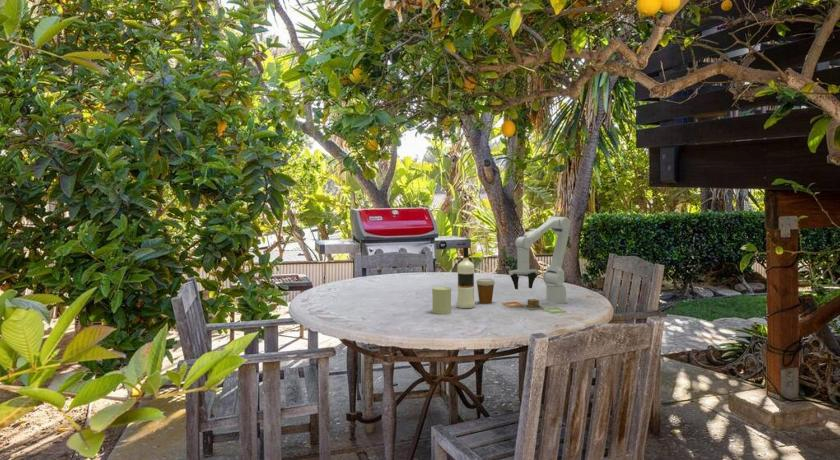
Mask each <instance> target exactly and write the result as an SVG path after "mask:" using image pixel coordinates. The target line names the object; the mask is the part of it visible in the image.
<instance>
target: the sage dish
mask: <svg viewBox="0 0 840 460" xmlns="http://www.w3.org/2000/svg"><path fill="white" fill-rule="evenodd" d="M542 311H544V312H546V313H549V314H553V315H554V314H562V313H563V314H564V313H567V309H563V308H561V307H558V306H555V307H545V308H543V309H542Z"/></svg>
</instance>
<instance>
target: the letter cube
mask: <svg viewBox="0 0 840 460" xmlns="http://www.w3.org/2000/svg"><path fill="white" fill-rule="evenodd" d="M527 305H528V307H529V308H539V305H540V300H539V299H536V298H529V299H527Z"/></svg>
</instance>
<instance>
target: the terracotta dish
mask: <svg viewBox="0 0 840 460" xmlns="http://www.w3.org/2000/svg"><path fill="white" fill-rule="evenodd" d="M501 303H502V305H503V306H506V307H508V308H518V307H521V308H522V305H525V304H524V303H522V302H519V301H507V302H505V301H503V302H501Z"/></svg>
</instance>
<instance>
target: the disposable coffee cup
mask: <svg viewBox="0 0 840 460" xmlns="http://www.w3.org/2000/svg"><path fill="white" fill-rule="evenodd" d="M475 283H476V286H477V287H476V288H477V294H478V295H477V296H478V302H479V303H478V304H483V305H485V304H486V305H488V304H492V302H493V295H494V289H495V283H496V282H495V280H494V279H493V278H477V280H476V282H475Z"/></svg>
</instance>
